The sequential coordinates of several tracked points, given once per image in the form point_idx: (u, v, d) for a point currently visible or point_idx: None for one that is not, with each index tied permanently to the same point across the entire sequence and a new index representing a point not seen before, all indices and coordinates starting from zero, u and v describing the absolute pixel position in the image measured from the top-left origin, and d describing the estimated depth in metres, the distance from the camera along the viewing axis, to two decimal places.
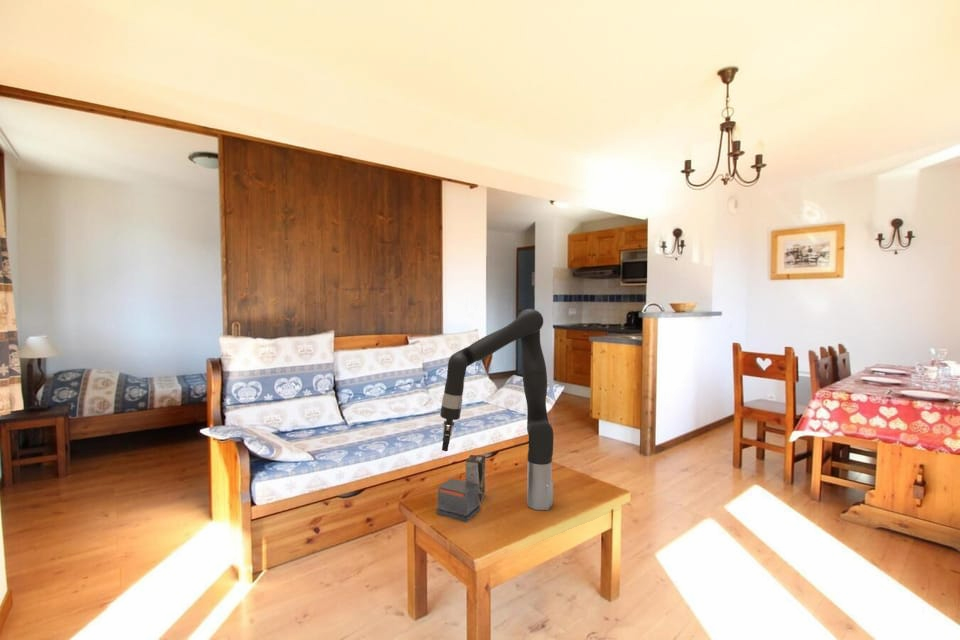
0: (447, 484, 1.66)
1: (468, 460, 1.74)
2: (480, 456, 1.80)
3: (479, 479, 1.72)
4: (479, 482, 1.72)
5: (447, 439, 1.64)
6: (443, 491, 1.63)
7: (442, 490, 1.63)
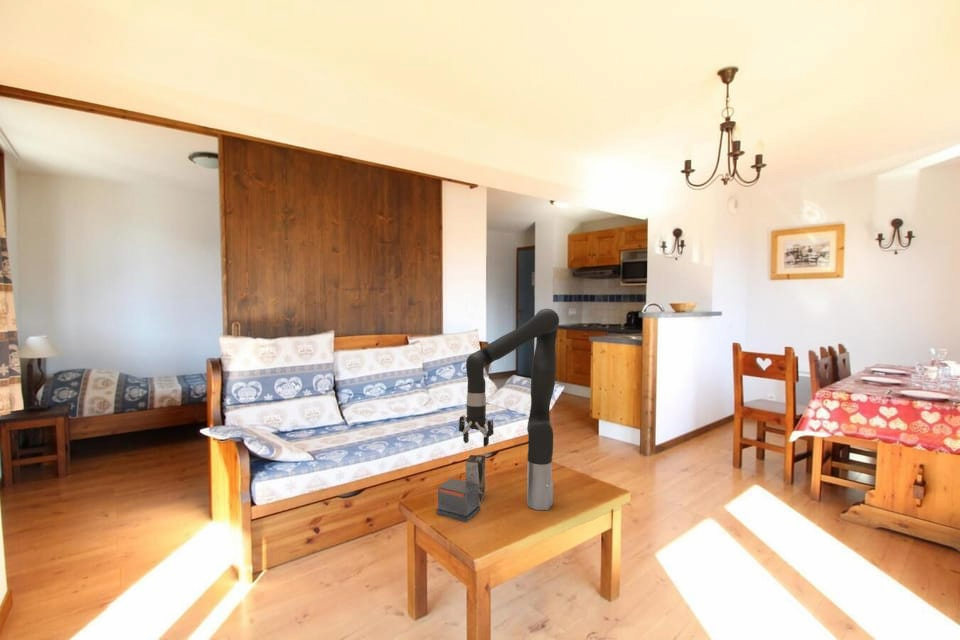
0: (447, 484, 1.66)
1: (468, 460, 1.74)
2: (480, 456, 1.80)
3: (479, 479, 1.72)
4: (479, 482, 1.72)
5: (492, 433, 1.73)
6: (443, 491, 1.63)
7: (442, 490, 1.63)
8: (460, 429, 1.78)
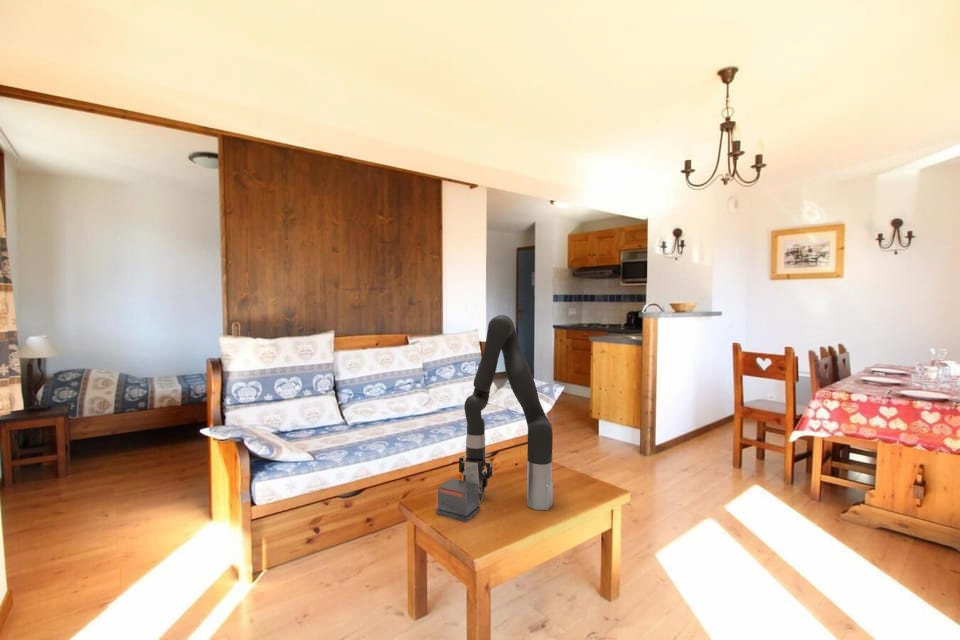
0: (447, 484, 1.66)
1: (468, 460, 1.74)
2: None
3: (479, 479, 1.72)
4: (479, 482, 1.72)
5: (491, 475, 1.74)
6: (443, 491, 1.63)
7: (442, 490, 1.63)
8: (460, 470, 1.79)
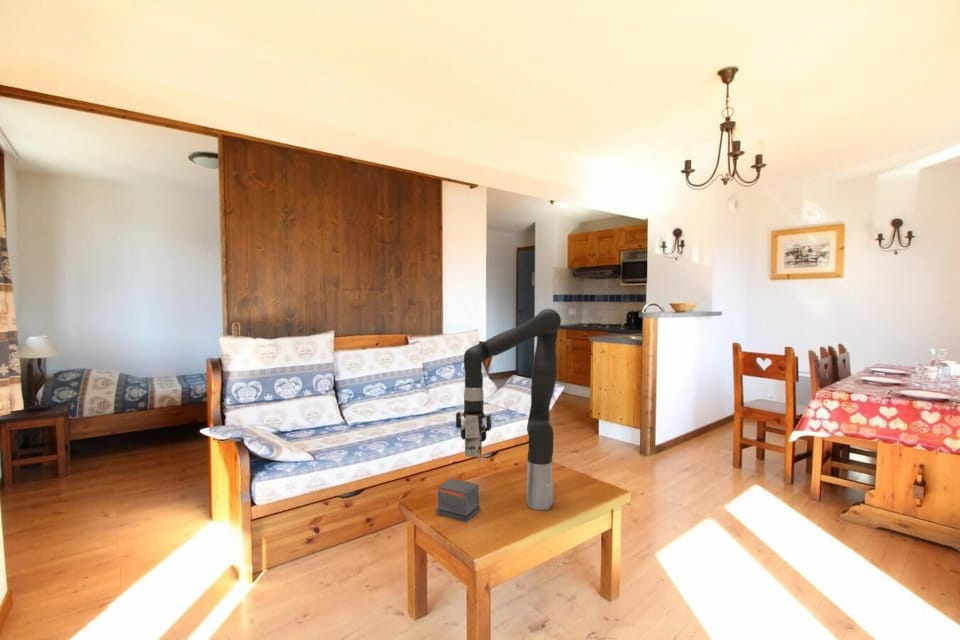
0: (447, 484, 1.66)
1: (467, 414, 1.72)
2: None
3: (479, 432, 1.70)
4: (479, 435, 1.70)
5: (490, 428, 1.73)
6: (443, 491, 1.63)
7: (442, 490, 1.63)
8: (457, 425, 1.75)
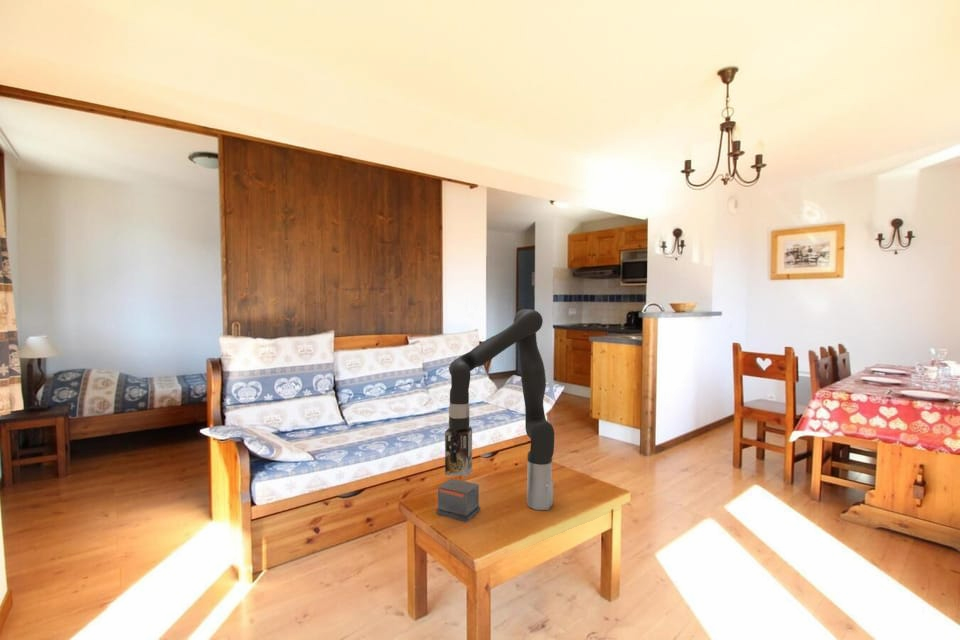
0: (447, 484, 1.66)
1: (464, 432, 1.62)
2: None
3: (471, 445, 1.66)
4: (471, 448, 1.67)
5: None
6: (443, 491, 1.63)
7: (442, 490, 1.63)
8: (453, 450, 1.59)
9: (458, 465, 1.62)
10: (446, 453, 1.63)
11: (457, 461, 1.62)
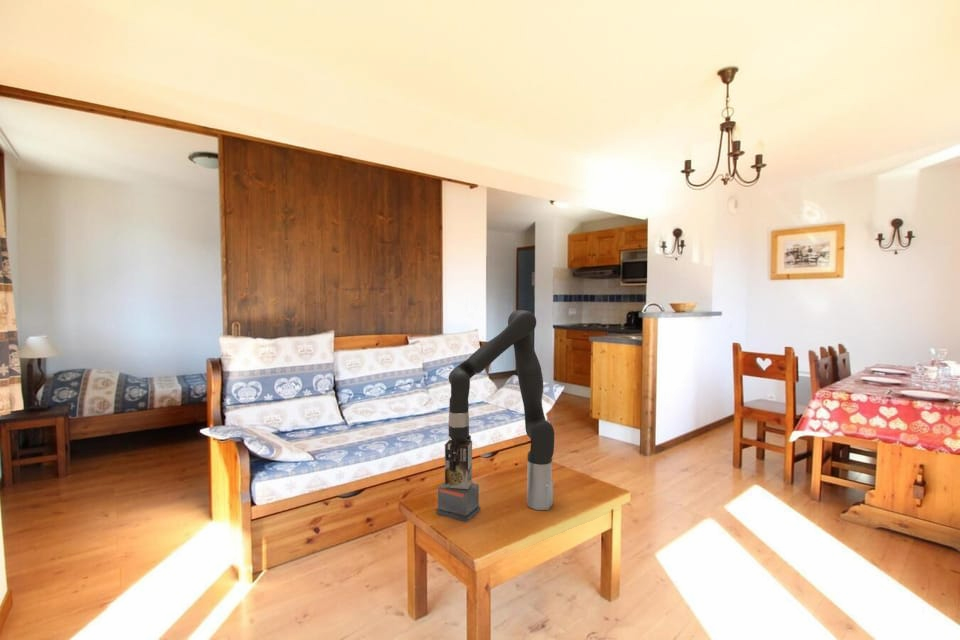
0: None
1: (464, 445, 1.62)
2: None
3: (471, 458, 1.67)
4: (471, 461, 1.67)
5: None
6: (443, 491, 1.63)
7: (442, 490, 1.63)
8: (452, 458, 1.59)
9: (458, 478, 1.62)
10: (446, 465, 1.63)
11: (457, 474, 1.62)
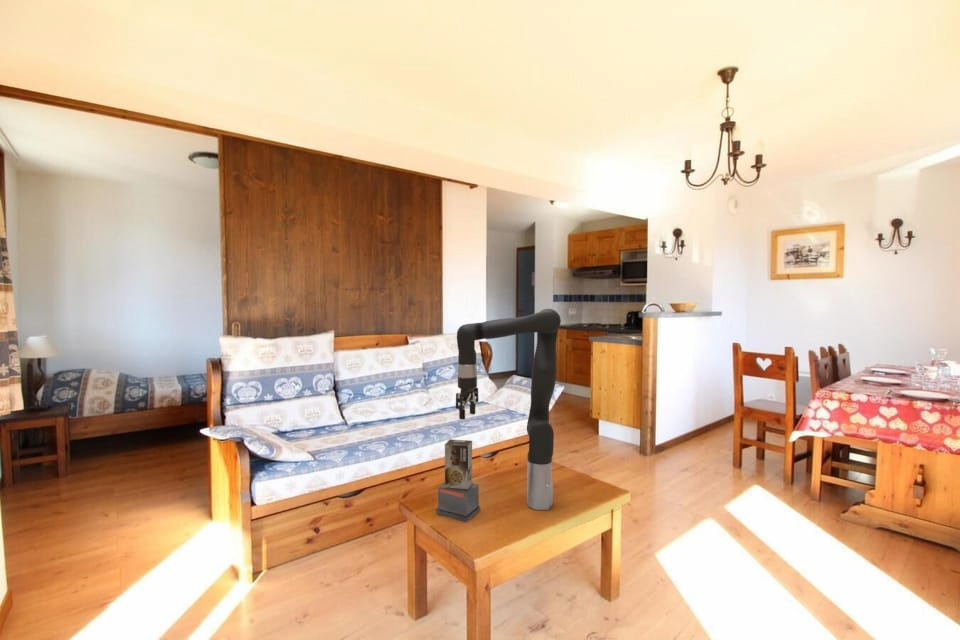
0: None
1: (464, 445, 1.62)
2: (451, 440, 1.67)
3: (471, 458, 1.67)
4: (471, 461, 1.67)
5: None
6: (443, 491, 1.63)
7: (442, 490, 1.63)
8: (462, 406, 1.69)
9: (458, 478, 1.62)
10: (446, 465, 1.63)
11: (457, 474, 1.62)
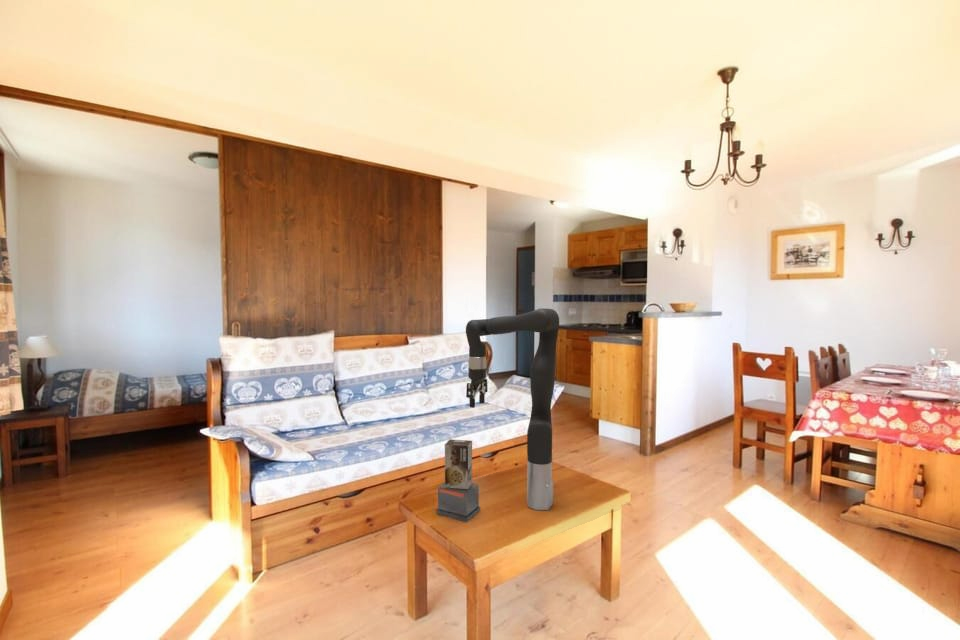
0: None
1: (464, 445, 1.62)
2: (451, 440, 1.67)
3: (471, 458, 1.67)
4: (471, 461, 1.67)
5: None
6: (443, 491, 1.63)
7: (442, 490, 1.63)
8: (472, 395, 1.83)
9: (458, 478, 1.62)
10: (446, 465, 1.63)
11: (457, 474, 1.62)
